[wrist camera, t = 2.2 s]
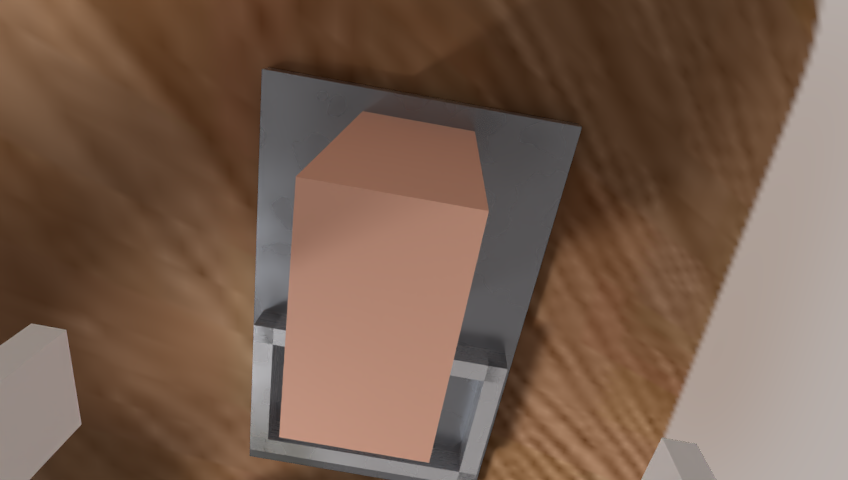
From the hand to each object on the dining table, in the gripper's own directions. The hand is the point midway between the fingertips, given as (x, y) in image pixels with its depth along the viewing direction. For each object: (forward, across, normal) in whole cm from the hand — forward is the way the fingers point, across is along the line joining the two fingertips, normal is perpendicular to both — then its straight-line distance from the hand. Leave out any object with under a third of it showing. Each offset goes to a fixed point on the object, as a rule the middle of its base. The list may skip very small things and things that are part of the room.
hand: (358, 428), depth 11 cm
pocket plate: (+14, 0, +6) cm, 16 cm away
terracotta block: (+14, 0, 0) cm, 14 cm away
